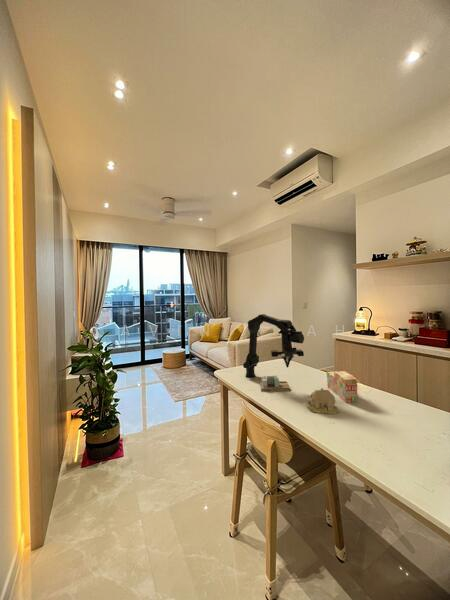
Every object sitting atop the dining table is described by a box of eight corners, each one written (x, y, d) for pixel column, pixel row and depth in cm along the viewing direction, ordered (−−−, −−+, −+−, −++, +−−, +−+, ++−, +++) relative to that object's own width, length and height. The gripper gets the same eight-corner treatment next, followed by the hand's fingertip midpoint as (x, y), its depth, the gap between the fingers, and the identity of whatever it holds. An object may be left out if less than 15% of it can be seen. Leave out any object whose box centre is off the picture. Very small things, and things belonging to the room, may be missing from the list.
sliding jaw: (273, 382, 154) (273, 375, 154) (277, 382, 154) (277, 375, 154) (274, 387, 147) (274, 379, 146) (279, 387, 146) (278, 379, 146)
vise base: (259, 383, 157) (259, 375, 157) (287, 383, 156) (286, 374, 156) (261, 391, 145) (260, 381, 145) (290, 390, 144) (290, 381, 144)
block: (273, 384, 152) (273, 376, 152) (274, 386, 148) (274, 378, 148) (267, 384, 153) (266, 376, 153) (267, 386, 149) (267, 378, 149)
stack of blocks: (327, 387, 147) (326, 366, 147) (337, 386, 148) (336, 366, 147) (345, 403, 126) (345, 379, 126) (357, 402, 126) (357, 378, 126)
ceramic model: (332, 403, 126) (332, 384, 126) (342, 414, 115) (341, 393, 114) (304, 404, 127) (303, 384, 126) (311, 415, 115) (310, 393, 115)
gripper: (272, 344, 142) (273, 371, 142) (305, 343, 140) (306, 371, 141) (270, 340, 153) (271, 366, 153) (301, 340, 151) (302, 365, 152)
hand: (287, 367), depth 149 cm, fingers closed
